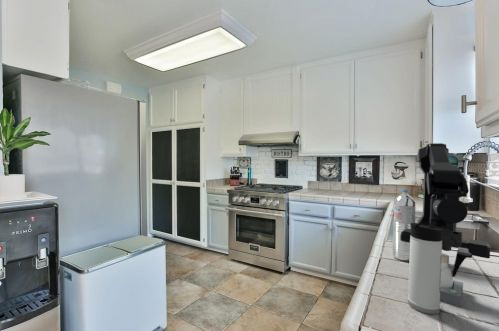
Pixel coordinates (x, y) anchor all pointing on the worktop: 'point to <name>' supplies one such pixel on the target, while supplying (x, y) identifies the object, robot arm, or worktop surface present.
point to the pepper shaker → (446, 273)
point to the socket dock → (452, 294)
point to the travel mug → (425, 268)
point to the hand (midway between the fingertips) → (440, 273)
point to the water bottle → (402, 224)
